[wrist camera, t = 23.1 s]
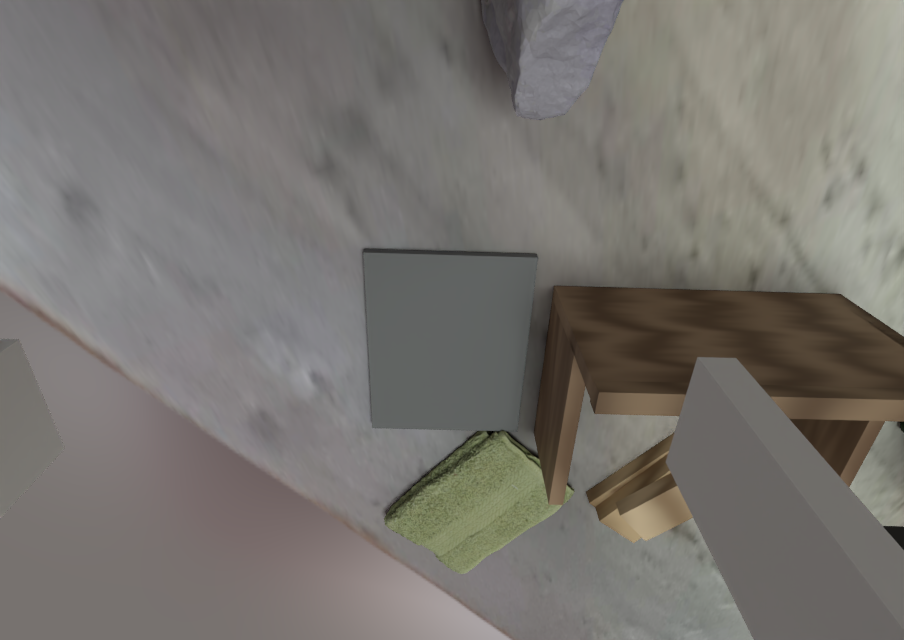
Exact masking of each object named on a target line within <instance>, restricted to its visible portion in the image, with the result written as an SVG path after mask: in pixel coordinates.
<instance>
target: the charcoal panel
mask: <svg viewBox="0 0 904 640" xmlns="http://www.w3.org/2000/svg"><path fill="white" fill-rule="evenodd" d="M363 259H364V279H365V298H366V317H367V336H368V356H369V375H370V394H371V413H372V428H393V429H434V430H475V431H502V430H504V431H516V432H517V430H518V422H519V414H520V405H521V397H522V388H523V380H524V371H525V363H526V355H527V346H528V338H529V329H530V321H531V312H532V304H533V295H534V287H535V279H536V270H537V262H538V256H537V254H520V253H486V252H453V251H420V250H386V249H364V252H363Z"/></svg>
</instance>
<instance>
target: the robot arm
mask: <svg viewBox="0 0 904 640" xmlns="http://www.w3.org/2000/svg"><path fill="white" fill-rule="evenodd" d="M64 449H65V446H64V444H63V442H62V439H61V437H60V435H59V432H58V430H57V428H56V425H55V423H54V420H53V418H52V416H51V413H50V411H49V409H48V406H47V404H46V402H45V399H44V397H43V394H42V392H41V390H40V387H39V385H38V383H37V380H36V378H35V376H34V373H33V371H32V369H31V366H30V364H29V362H28V359H27V357H26V354H25V352H24V350H23V348H22V345H21V343H20V340H19V339H0V518H1V517H2V516H3V515H4V514H5V513H6V512H7V511H8V510H9V508H11V506H12V505H13V504H14V503H15V502H16V501H17V500H18V499H19V497H21V496H22V495H23V494H24V492H25V491H26V490H27V489H28V488H29V487H30V486H31V485H32V484H33V483H34V482H35V481H36V479H37V478H38V477H39V476H40V475H41V474H42V473H43V472H44V471H45V469H47V467H49V465H50V464H51V463H52V462H53V461H54V460H55V459H56V458H57V457H58V456H59V455H60V453H61V452H62V451H63V450H64ZM666 464H667V466H668V468H669V470H670V472H671V474H672V476H673V478H674V480H675V482H676V484H677V486H678V488H679V490H680V492H681V494H682V496H683V498H684V500H685V502H686V504H687V506H688V508H689V510H690V512H691V514H692V516H693V518H694V520H695V522H696V524H697V526H698V528H699V530H700V532H701V534H702V536H703V538H704V540H705V542H706V544H707V546H708V548H709V550H710V552H711V554H712V556H713V558H714V560H715V562H716V564H717V566H718V569H719V571H720V573H721V575H722V577H723V579H724V581H725V583H726V585H727V587H728V589H729V591H730V593H731V595H732V597H733V599H734V601H735V603H736V605H737V607H738V609H739V611H740V613H741V615H742V617H743V619H744V621H745V623H746V625H747V627H748V629H749V631H750V633H751V635H752V637H753V639H754V640H904V527H897V526H882V525H881V524H880V523H879V521H878V520H877V519H876V518H875V517H874V516H873V514H872V513H871V512H870V511H869V510H868V509H867V508H866V506H865V505H864V504H863V503H862V502H861V501H860V500H859V498H858V497H857V496H856V495H855V494H854V493H853V492H852V490H851V489H850V488H849V487H848V486H847V485H846V483H845V482H844V481H843V480H842V479H841V478H840V477H839V475H838V474H837V473H836V472H835V471H834V470H833V469H832V467H831V466H830V465H829V464H828V463H827V462H826V461H825V459H824V458H823V457H822V456H821V455H820V454H819V452H818V451H817V450H816V449H815V448H814V447H813V446H812V444H811V443H810V442H809V441H808V440H807V439H806V438H805V436H804V435H803V434H802V433H801V432H800V431H799V430H798V428H797V427H796V426H795V425H794V424H793V423H792V421H791V420H790V419H789V418H788V417H787V416H786V415H785V413H784V412H783V411H782V410H781V409H780V408H779V407H778V405H777V404H776V403H775V402H774V401H773V400H772V399H771V397H770V396H769V395H768V394H767V393H766V392H765V390H764V389H763V388H762V387H761V386H760V385H759V384H758V382H757V381H756V380H755V379H754V378H753V377H752V376H751V374H750V373H749V372H748V371H747V370H746V369H745V368H744V366H743V365H742V364H741V363H740V362H739V361H738V360H737V358H715V357H697V360H696V364H695V367H694V370H693V374H692V377H691V380H690V383H689V387H688V390H687V393H686V397H685V400H684V403H683V407H682V410H681V413H680V416H679V420H678V423H677V426H676V430H675V433H674V436H673V439H672V443H671V446H670V449H669V453H668V456H667V459H666Z"/></svg>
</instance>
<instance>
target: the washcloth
mask: <svg viewBox="0 0 904 640" xmlns="http://www.w3.org/2000/svg"><path fill="white" fill-rule="evenodd" d="M573 493H574V489H573V488H571V487H569V486H568V485H567V486H566V491H565V497H564V502H563V504H564V503H566V502H568V500H569V499H570V498H571V496H572V495H573ZM561 506H562V505H549V504H548V499H547V494H546V489H545V484H544V479H543V475H542V470H541V465H540V460H539V459H538V458H537V457H535V456H533V455H532V454H531V453H530V452H529V451H528V450H527V449H525V448H524V447H523V446H522V445H520V444H519V443H518V442H516V441H515V440H514V439H513V438H511V437H510V435H509V434H508V433H507V432H506V431H504V430H502V431H500V432H499V433H497V432H494V433H493V434H492V433H491V432H489V431H477V433H476V434H475V435H474V436H473V437H471V438H470V439H469V440H467V441H466V443H464V445H463V446H462V447H460V448H458V449H457V450H456V451H455V452H454V453H453V454H451V455H450V457H448V458H447V460H444V461H442V462H441V463H440V465H438V466H436V468H434V469H433V470H432V471H431V472H430V473H429V474H428V475H427V476H426V477H424V478H422V479H421V481H420V482H419V483H416V484H415V485H414V486H413V487H412V488H411V490H410V491H408V492H407V493H406V494H405V495H404V496H402V497H401V498H400V500H399V501H398V502H397V503H394V504H393V505H392V506H391V508H390V510H389V512H388V513H387V515H386V516H385V518H384V520H385V521H384V522H385V525H386V526H387V527H388V528H389V529H391V530H393V531H395V532H396V533H399V534H401V536H403V537H406V538H407V539H409V540H411V541H413V543H415V544H417V545H423V546H424V547H426V548H428V549H429V550H431V551H433V552H434V553H435V555H436V557H437V558H438V559H439V561H440V562H442V563H444V564H445V565H446V566H447V567H448V568H450V569H451V570H453V571H455V572H458V573H460V574H464V573H467V572H468V571H470V570H471V569H473V568H474V567H475V566H476V565H478V564H479V563H480V562H481V561H482V560H483V559H484V558H485V557H487V556H489V555H490V554H492V553H493V552H495V551H498V550H499V549H501V548H503V547H504V546H505V545H506V544H507V543H509V542H510V541H512V540H513V539H515V538H516V537H518V536H519V535H520V534H522V533H523V532H525V531H526V530H527V529H529V528H531V527H533V526H535V525H536V524H538V523H539V522H541V521H543V520H545V519H546V518H548V517H550V516H551V515H552V514H554V513H555V512H556V511H557V510H558V509H559V508H560V507H561Z"/></svg>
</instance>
